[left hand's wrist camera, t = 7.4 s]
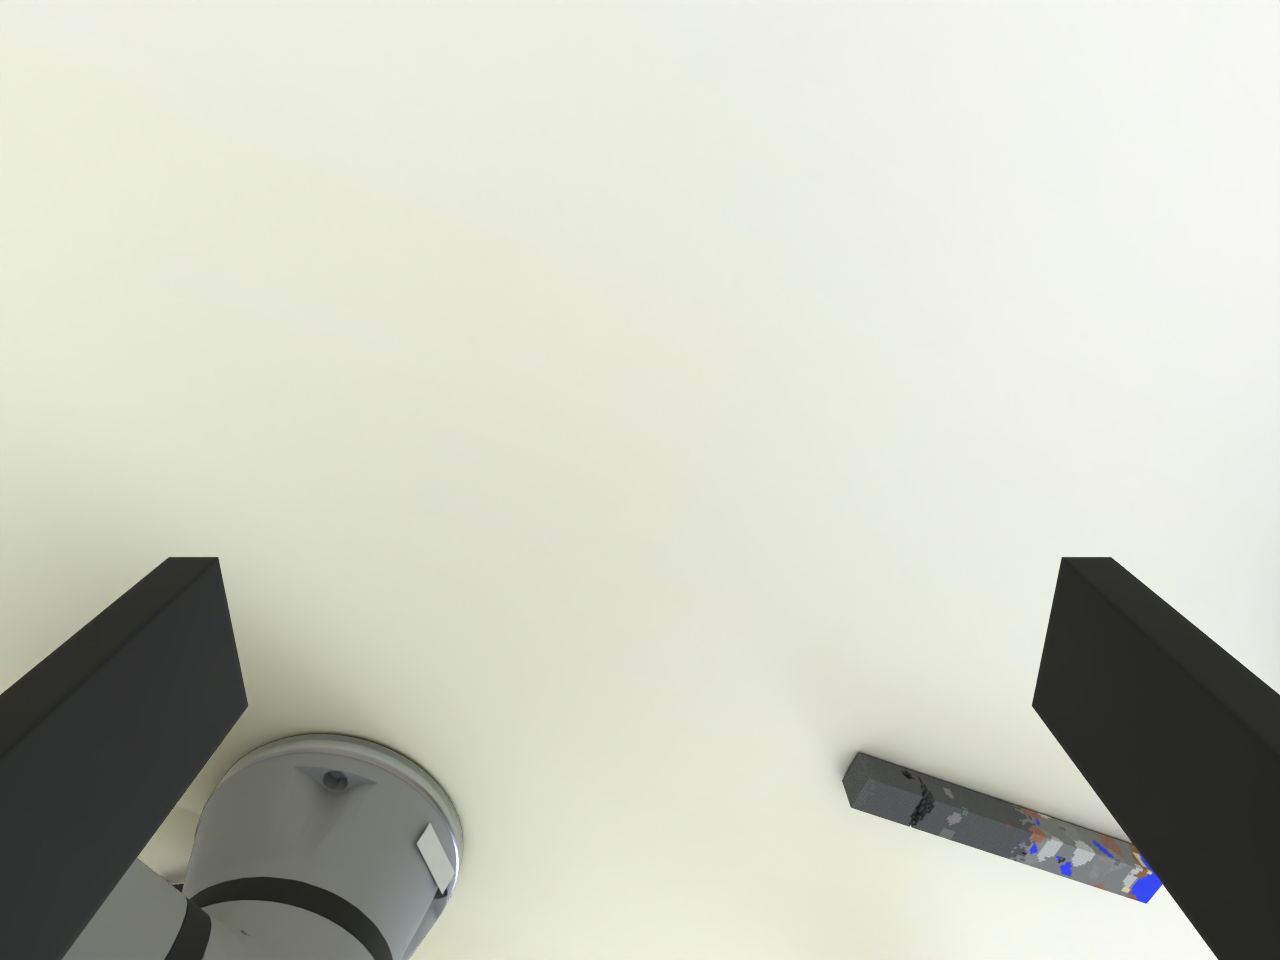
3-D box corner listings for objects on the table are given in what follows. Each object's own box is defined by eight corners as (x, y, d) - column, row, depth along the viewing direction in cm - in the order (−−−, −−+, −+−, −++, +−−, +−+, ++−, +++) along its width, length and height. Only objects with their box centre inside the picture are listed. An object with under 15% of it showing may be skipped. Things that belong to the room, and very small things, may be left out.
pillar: (868, 778, 46) (1172, 879, 48) (858, 752, 48) (1151, 850, 50) (850, 807, 46) (1151, 905, 49) (842, 780, 48) (1130, 875, 51)
